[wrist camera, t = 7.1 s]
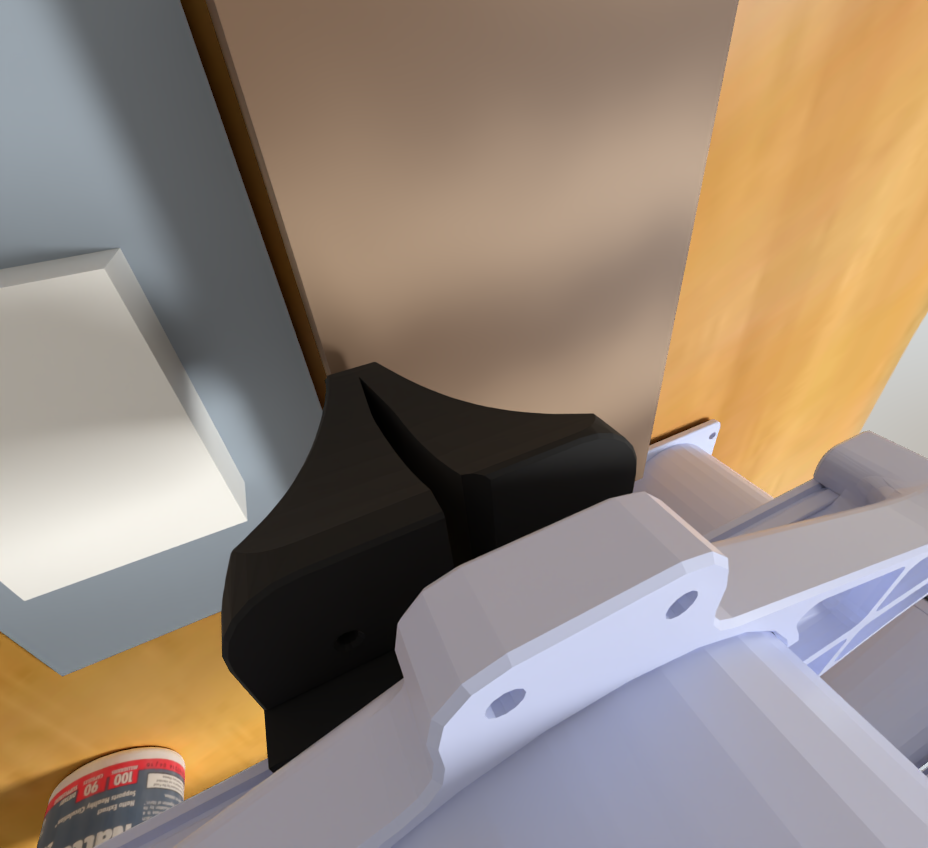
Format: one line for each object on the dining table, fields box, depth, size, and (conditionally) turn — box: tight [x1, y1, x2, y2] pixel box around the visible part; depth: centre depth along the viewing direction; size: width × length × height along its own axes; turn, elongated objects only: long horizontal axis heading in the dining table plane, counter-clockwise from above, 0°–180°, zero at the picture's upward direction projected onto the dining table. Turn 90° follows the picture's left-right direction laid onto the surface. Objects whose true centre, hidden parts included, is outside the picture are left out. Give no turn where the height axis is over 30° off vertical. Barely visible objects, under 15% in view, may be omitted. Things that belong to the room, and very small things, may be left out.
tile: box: [0, 248, 247, 601], centre depth 12 cm, size 8×6×2 cm
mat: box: [0, 0, 323, 676], centre depth 13 cm, size 20×12×1 cm, turn 6°
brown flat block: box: [205, 0, 739, 481], centre depth 15 cm, size 18×12×4 cm, turn 6°
